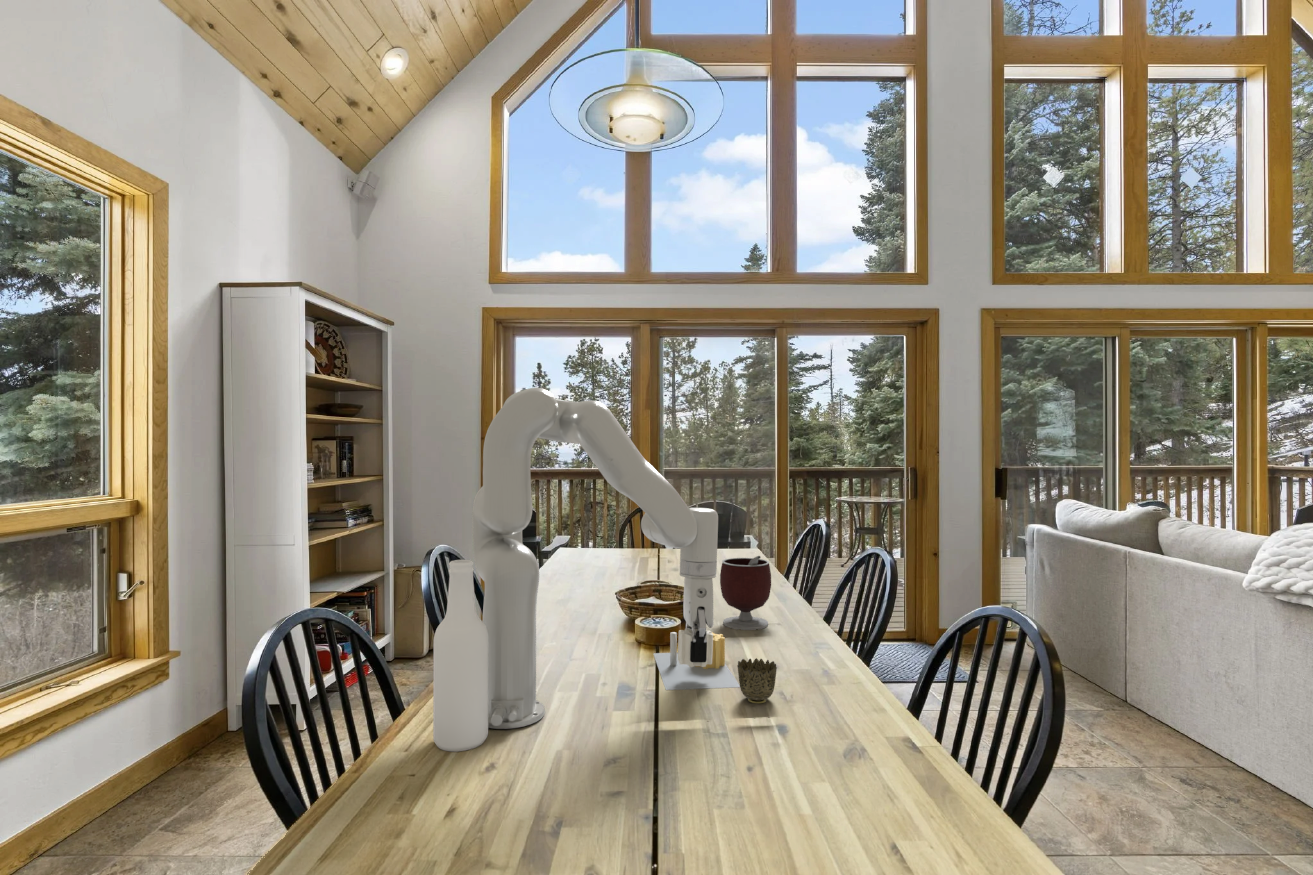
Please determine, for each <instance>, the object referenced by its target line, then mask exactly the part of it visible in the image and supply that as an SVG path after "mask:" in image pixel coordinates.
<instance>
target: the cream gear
mask: <svg viewBox="0 0 1313 875" xmlns="http://www.w3.org/2000/svg"><path fill="white" fill-rule="evenodd" d="M697 631H698V630H695V633H696V632H697ZM711 632H712V631H711V630H710V629H709V630H706V634H707V657H706V662H691V661H690V647H691V641H692V629H690V628H686V627H685V628H684V630H683V629H679V630H678V637H677V638H678V640H677V645H678V646H677V653H678V661H679V664H686V665H689V667H694V666H701V667H706V665H707V664H710V665H711V664H712V653H713V634H711Z"/></svg>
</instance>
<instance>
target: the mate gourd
mask: <svg viewBox="0 0 1313 875" xmlns="http://www.w3.org/2000/svg"><path fill="white" fill-rule="evenodd" d="M721 562H722V563H721V567H720V575H719V585H720V591H721V596H722V598H723V599H724V601H725V603H726V604H727V605H728V606H730V607H731V608H734V609H737V610H738V611H739V612H740V613H739V616H737V615H736V616H730V617H726V618H724V619H723V620H722V624H723V626H725V627H727V628H730V629H733V630H739V629H741V630H740V631H757V630H756V629H758V630H762V629H766V628H767V627H769V621H768V620H767V619H765V618H762V617H756V616H752V615H753V614H752V613H751V612H752V611H755V610H757V609H759V608H762V607H763V606H765V604H766V603H767V601H768V600H769V599H770V598H769V597H770V595H771V588H772V572H771V566H770V561H769V560H766V559H761V556H760V555H756V556H755V557H729V558H725V559H723V560H722V561H721Z"/></svg>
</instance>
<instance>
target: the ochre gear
mask: <svg viewBox="0 0 1313 875" xmlns="http://www.w3.org/2000/svg"><path fill="white" fill-rule="evenodd" d="M711 632H712V634H713V653H712V664H711V665H710V664H707V665H706V667H703V669H708V668H715V669H718V668H719V666H724V665H725V664H726V637H724V634H722V633H719V634H718V633H715V632H713V631H711ZM695 667H701V666H695Z"/></svg>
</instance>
